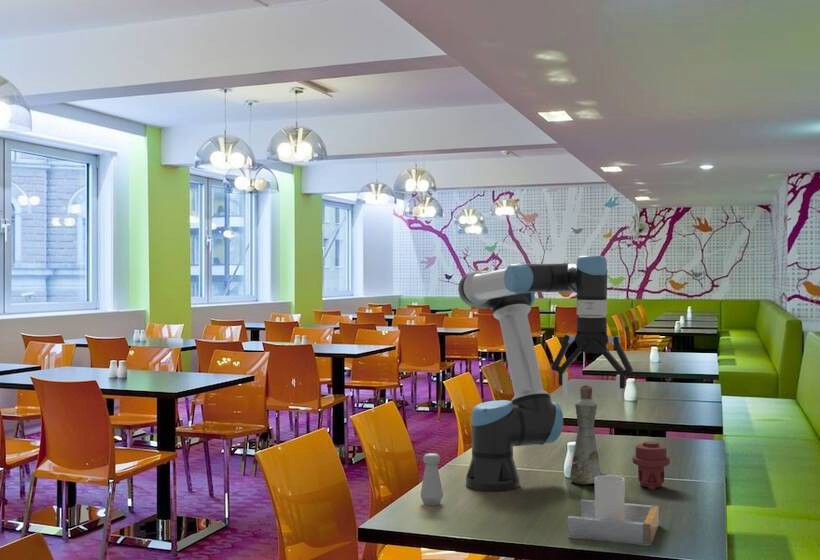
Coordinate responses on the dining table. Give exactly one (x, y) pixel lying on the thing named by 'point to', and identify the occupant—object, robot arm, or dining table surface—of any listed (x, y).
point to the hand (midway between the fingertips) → (591, 399)
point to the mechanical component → (651, 464)
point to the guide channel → (616, 525)
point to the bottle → (585, 441)
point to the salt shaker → (431, 481)
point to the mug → (609, 497)
